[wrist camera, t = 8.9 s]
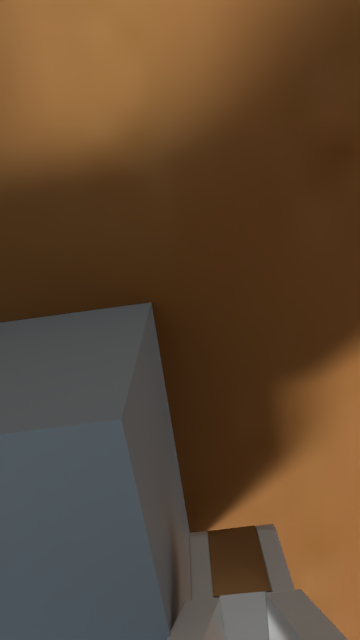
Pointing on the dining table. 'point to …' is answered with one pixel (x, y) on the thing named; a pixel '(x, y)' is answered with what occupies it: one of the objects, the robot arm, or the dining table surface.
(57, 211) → the dining table surface
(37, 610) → the slate block
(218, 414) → the dining table surface
